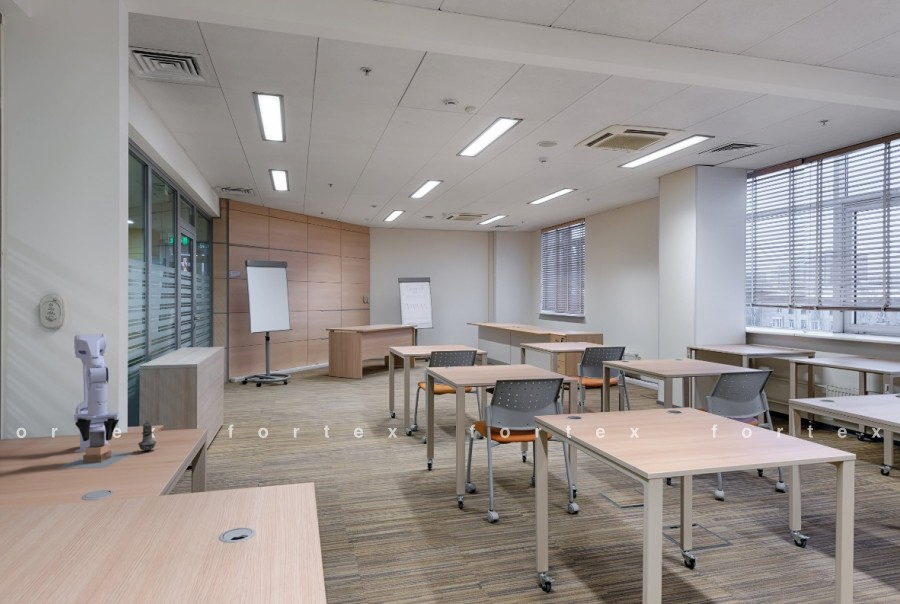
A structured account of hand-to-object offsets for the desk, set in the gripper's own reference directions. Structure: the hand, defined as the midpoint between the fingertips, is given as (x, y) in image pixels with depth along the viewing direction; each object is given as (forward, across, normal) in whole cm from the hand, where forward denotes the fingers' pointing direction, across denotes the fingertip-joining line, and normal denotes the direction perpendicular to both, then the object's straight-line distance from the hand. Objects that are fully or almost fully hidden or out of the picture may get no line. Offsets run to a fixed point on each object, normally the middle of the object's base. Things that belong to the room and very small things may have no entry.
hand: (97, 440), depth 183 cm
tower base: (+7, 0, 0) cm, 7 cm away
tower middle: (+4, 0, 0) cm, 4 cm away
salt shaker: (+8, +12, +10) cm, 17 cm away
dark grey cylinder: (+2, 0, 0) cm, 2 cm away
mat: (+7, 0, 0) cm, 7 cm away
